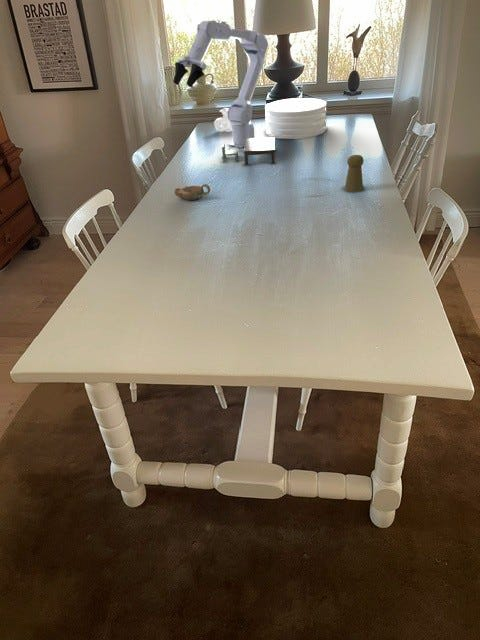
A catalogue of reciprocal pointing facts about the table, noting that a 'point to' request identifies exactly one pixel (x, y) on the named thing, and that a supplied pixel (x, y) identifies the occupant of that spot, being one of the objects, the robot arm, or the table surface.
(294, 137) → the plate stack
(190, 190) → the oil lamp
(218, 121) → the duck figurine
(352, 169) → the cork
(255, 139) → the desk
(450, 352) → the table surface
